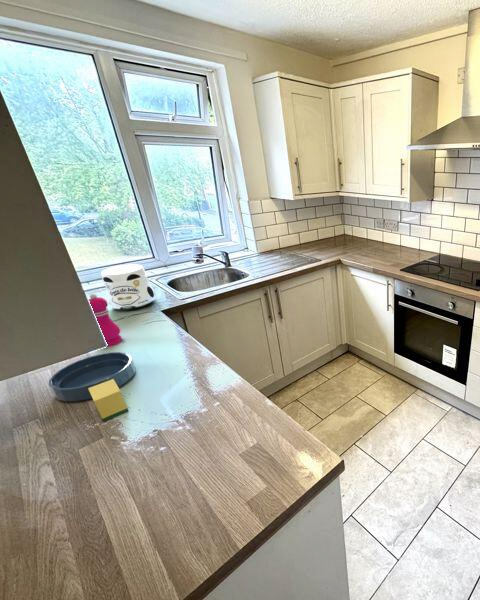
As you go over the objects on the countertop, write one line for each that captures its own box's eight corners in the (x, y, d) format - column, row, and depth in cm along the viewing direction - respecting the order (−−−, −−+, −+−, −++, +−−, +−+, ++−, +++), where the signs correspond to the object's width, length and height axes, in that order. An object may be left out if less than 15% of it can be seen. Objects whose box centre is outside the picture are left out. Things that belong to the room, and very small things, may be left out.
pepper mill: (104, 339, 127) (84, 291, 119) (126, 336, 129) (108, 289, 121) (96, 349, 121) (74, 299, 113) (119, 345, 123) (100, 296, 115)
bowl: (36, 401, 95) (28, 387, 93) (98, 363, 112) (92, 350, 110) (98, 405, 93) (92, 391, 91) (150, 365, 111) (146, 353, 109)
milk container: (121, 316, 145) (107, 278, 138) (105, 307, 154) (91, 271, 147) (163, 302, 159) (152, 267, 152) (146, 295, 167) (135, 261, 160)
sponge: (97, 408, 92) (87, 388, 89) (121, 398, 96) (113, 378, 93) (103, 422, 87) (93, 401, 85) (128, 410, 91) (120, 390, 88)
